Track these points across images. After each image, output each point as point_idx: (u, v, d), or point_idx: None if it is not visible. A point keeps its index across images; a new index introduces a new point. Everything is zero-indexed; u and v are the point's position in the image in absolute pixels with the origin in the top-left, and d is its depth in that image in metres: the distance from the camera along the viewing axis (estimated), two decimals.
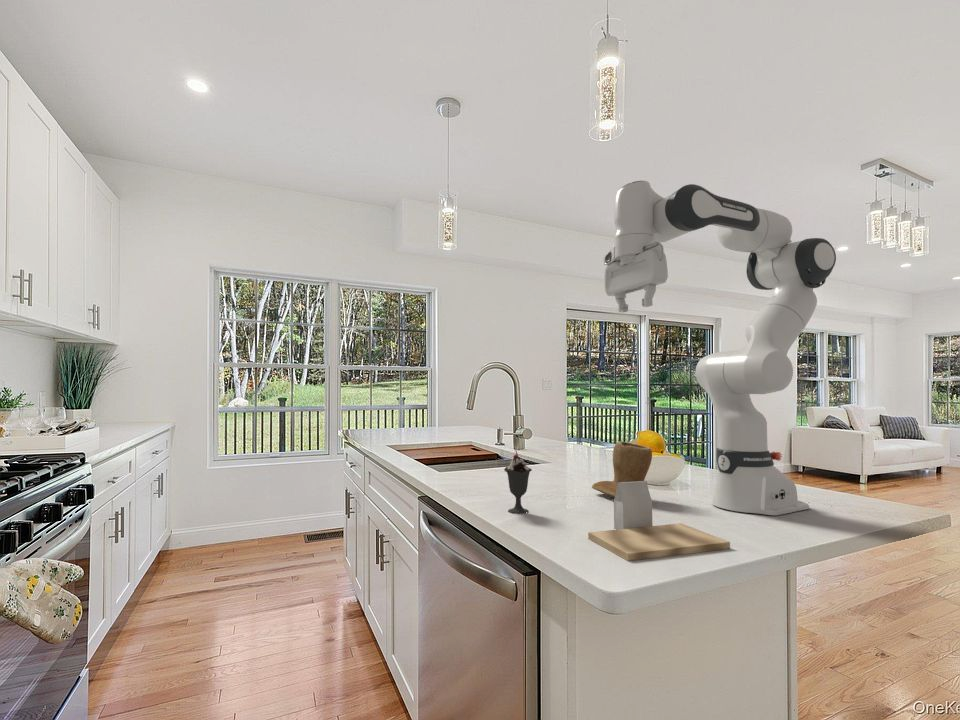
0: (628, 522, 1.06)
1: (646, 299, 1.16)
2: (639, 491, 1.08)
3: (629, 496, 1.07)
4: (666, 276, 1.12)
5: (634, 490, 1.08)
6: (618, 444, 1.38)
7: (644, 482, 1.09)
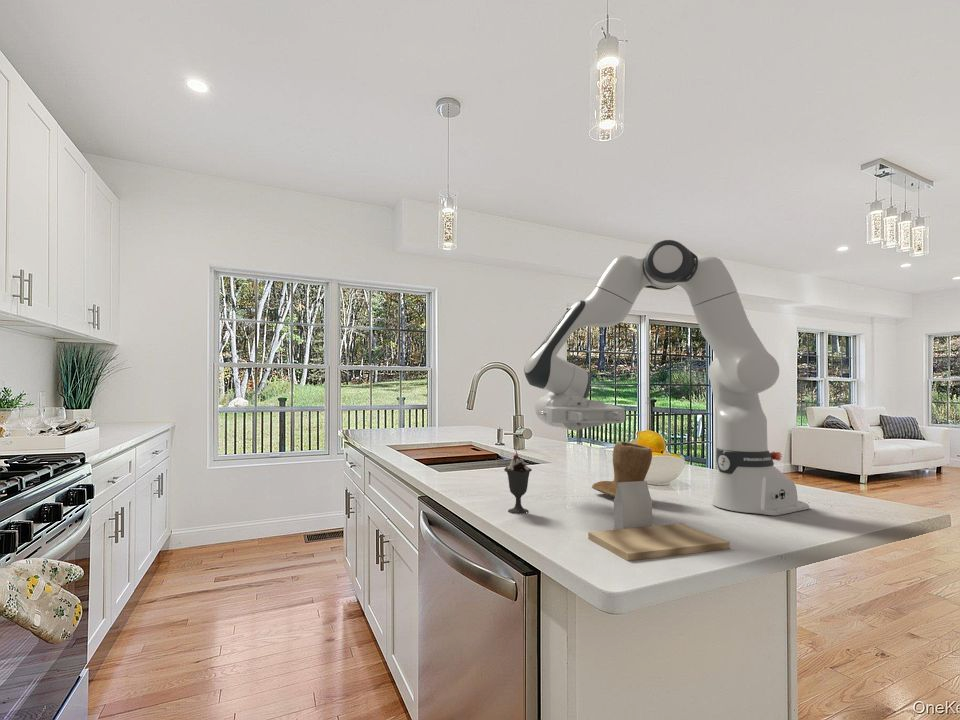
0: (628, 522, 1.06)
1: (577, 419, 1.20)
2: (639, 491, 1.08)
3: (629, 496, 1.07)
4: (551, 410, 1.23)
5: (634, 490, 1.08)
6: (618, 444, 1.38)
7: (644, 482, 1.09)
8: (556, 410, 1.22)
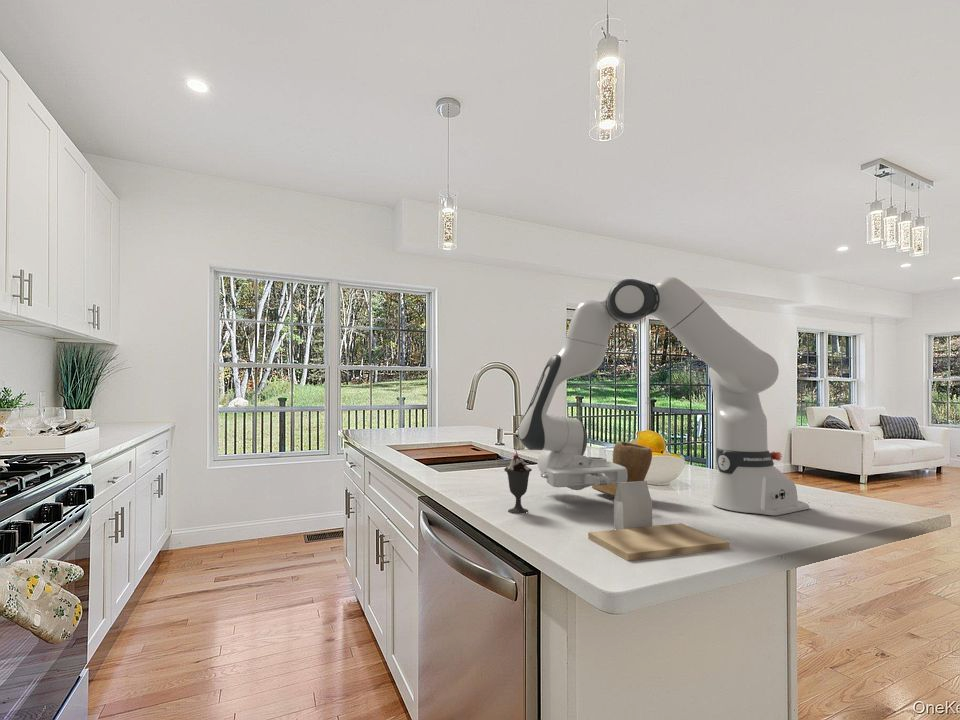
0: (628, 522, 1.06)
1: (594, 483, 1.21)
2: (639, 491, 1.08)
3: (629, 496, 1.07)
4: (552, 474, 1.22)
5: (634, 490, 1.08)
6: (618, 444, 1.38)
7: (644, 482, 1.09)
8: (557, 475, 1.22)
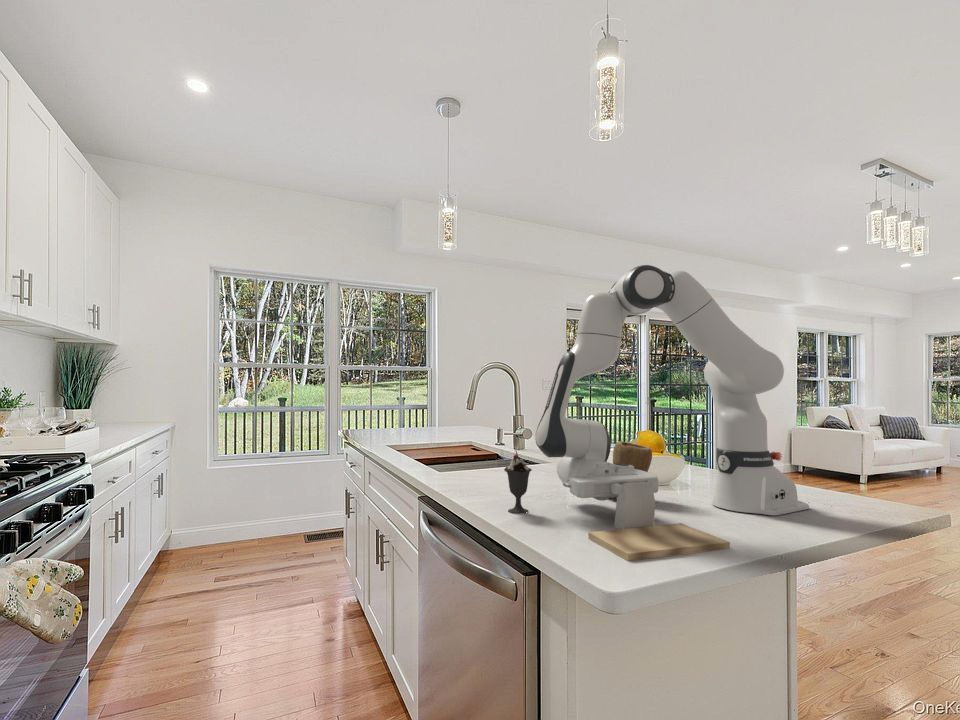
0: (629, 523, 1.06)
1: None
2: (644, 492, 1.07)
3: (633, 497, 1.06)
4: (577, 483, 1.11)
5: (638, 491, 1.06)
6: (618, 444, 1.38)
7: (650, 483, 1.07)
8: (583, 484, 1.10)
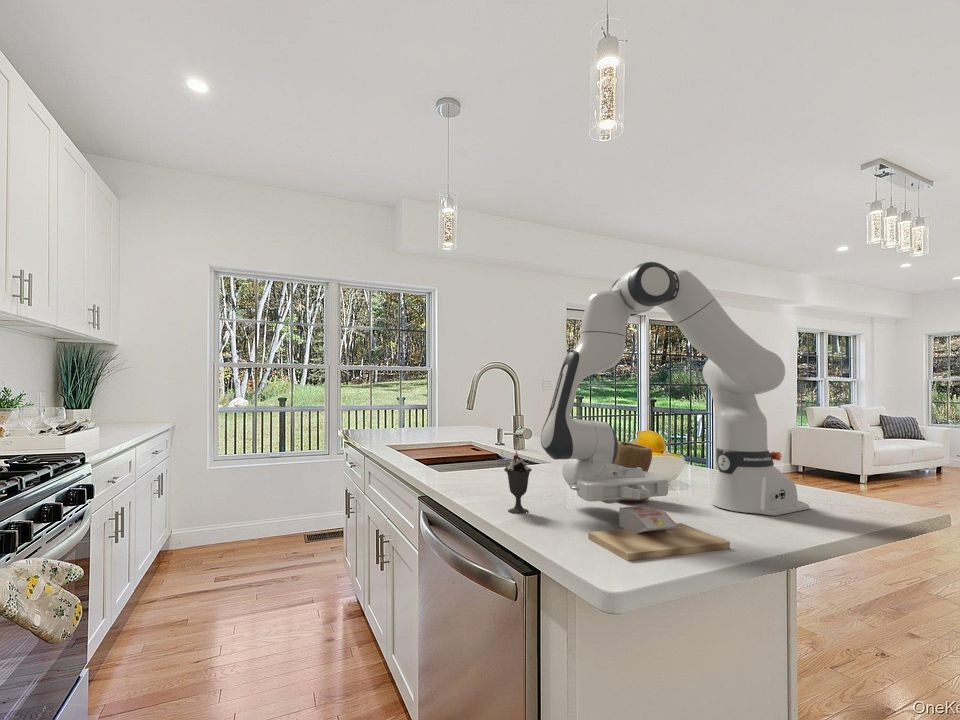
0: None
1: (633, 497, 1.06)
2: (662, 529, 1.01)
3: (649, 531, 1.01)
4: (585, 486, 1.08)
5: (658, 529, 1.00)
6: (618, 444, 1.38)
7: (675, 527, 1.00)
8: (591, 487, 1.07)
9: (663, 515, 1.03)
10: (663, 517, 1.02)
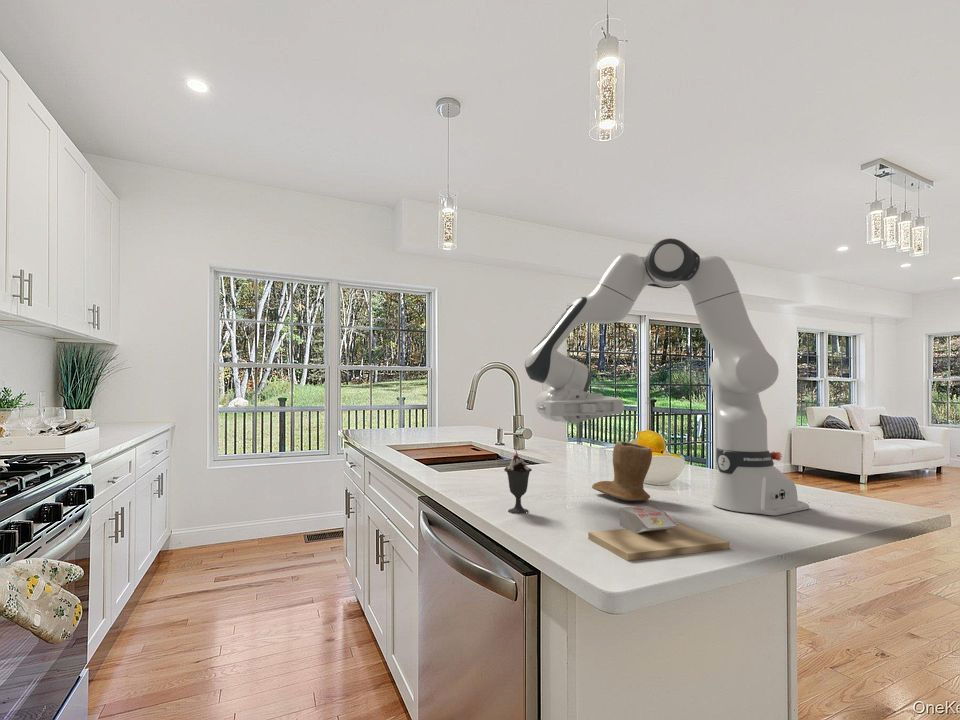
0: None
1: (591, 411, 1.23)
2: (662, 529, 1.01)
3: (649, 531, 1.01)
4: (550, 403, 1.24)
5: (658, 529, 1.00)
6: (618, 444, 1.38)
7: (675, 527, 1.00)
8: (554, 404, 1.24)
9: (663, 515, 1.03)
10: (663, 517, 1.02)
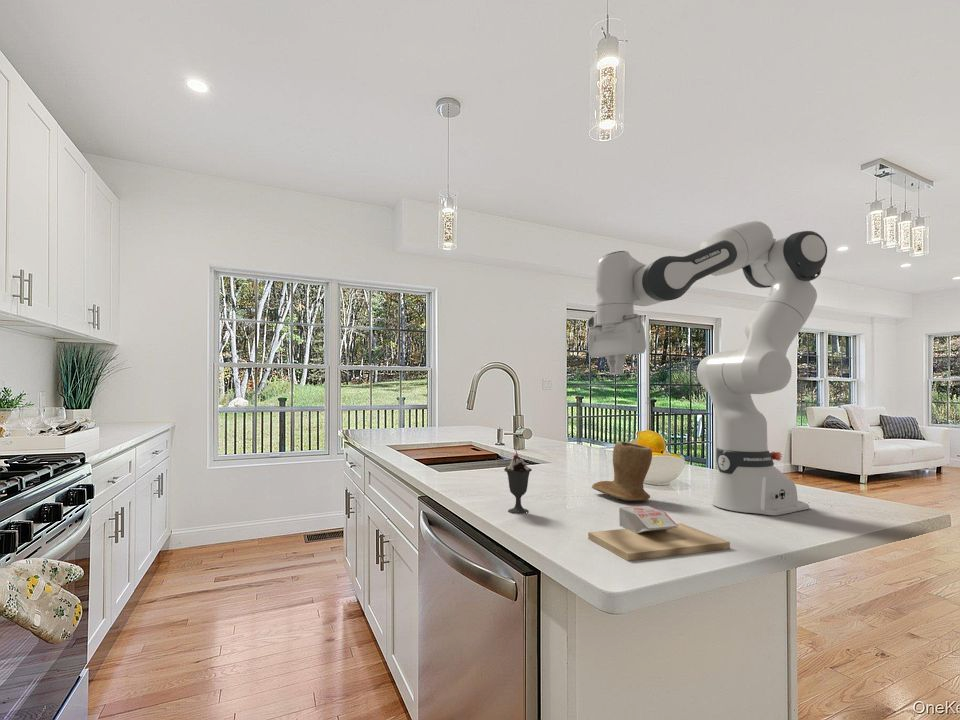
0: None
1: (616, 368, 1.25)
2: (662, 529, 1.01)
3: (649, 531, 1.01)
4: (644, 347, 1.17)
5: (658, 529, 1.00)
6: (618, 444, 1.38)
7: (675, 527, 1.00)
8: (642, 352, 1.18)
9: (663, 515, 1.03)
10: (663, 517, 1.02)
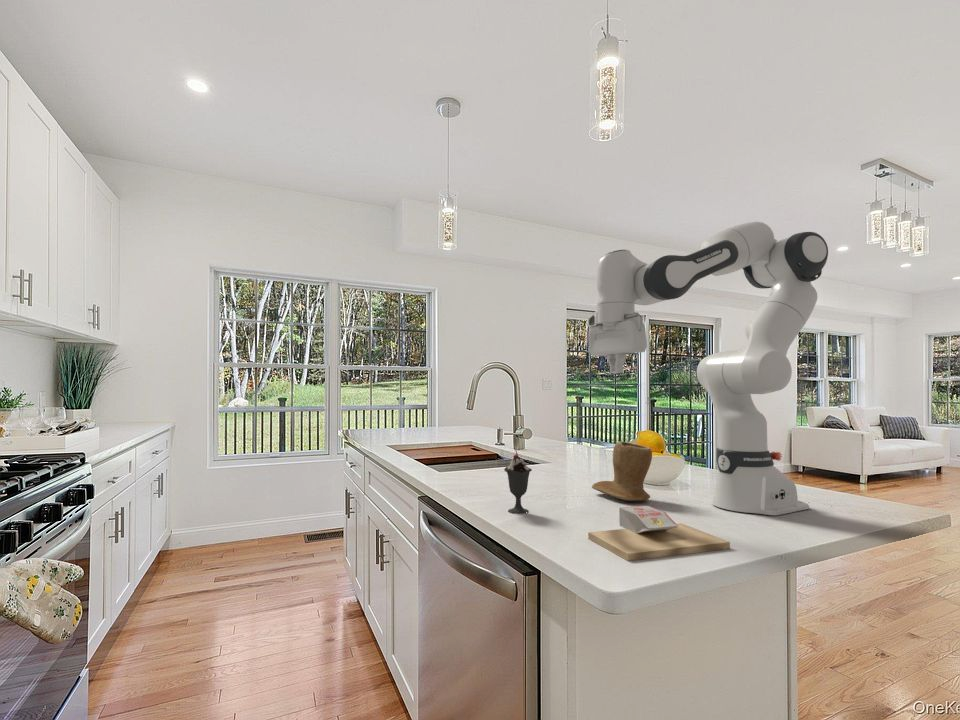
0: None
1: (617, 367, 1.24)
2: (662, 529, 1.01)
3: (649, 531, 1.01)
4: (645, 346, 1.17)
5: (658, 529, 1.00)
6: (618, 444, 1.38)
7: (675, 527, 1.00)
8: (643, 351, 1.18)
9: (663, 515, 1.03)
10: (663, 517, 1.02)
